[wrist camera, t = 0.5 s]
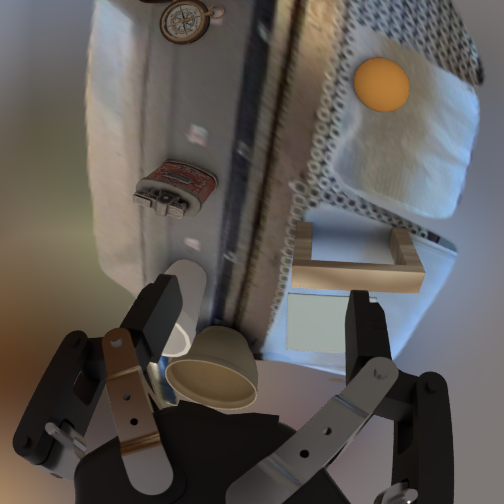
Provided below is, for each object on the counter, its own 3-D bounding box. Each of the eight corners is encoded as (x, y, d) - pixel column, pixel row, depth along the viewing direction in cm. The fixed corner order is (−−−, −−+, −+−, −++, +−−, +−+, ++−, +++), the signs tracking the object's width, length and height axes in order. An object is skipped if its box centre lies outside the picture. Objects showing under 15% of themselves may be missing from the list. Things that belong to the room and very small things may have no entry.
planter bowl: (223, 372, 64) (211, 414, 55) (168, 328, 58) (148, 371, 50) (283, 352, 56) (276, 401, 47) (226, 298, 51) (208, 349, 42)
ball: (349, 55, 27) (357, 53, 23) (401, 62, 26) (417, 62, 22) (349, 105, 31) (357, 112, 26) (399, 111, 30) (415, 120, 25)
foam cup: (170, 241, 46) (131, 298, 36) (224, 268, 47) (199, 331, 37) (156, 281, 52) (123, 336, 41) (204, 305, 53) (180, 365, 42)
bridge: (297, 221, 40) (292, 265, 33) (406, 228, 38) (425, 272, 30) (296, 241, 42) (291, 287, 34) (401, 247, 40) (418, 293, 32)
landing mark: (288, 293, 48) (288, 293, 47) (376, 297, 45) (376, 298, 45) (286, 348, 55) (286, 349, 55) (360, 352, 53) (360, 353, 53)
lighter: (221, 172, 38) (195, 206, 30) (215, 195, 40) (188, 233, 32) (164, 154, 38) (126, 182, 30) (160, 176, 40) (123, 209, 32)
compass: (168, 51, 30) (138, 51, 24) (156, -2, 26) (125, -11, 20) (231, 34, 28) (212, 27, 22) (218, -22, 24) (197, -39, 18)
